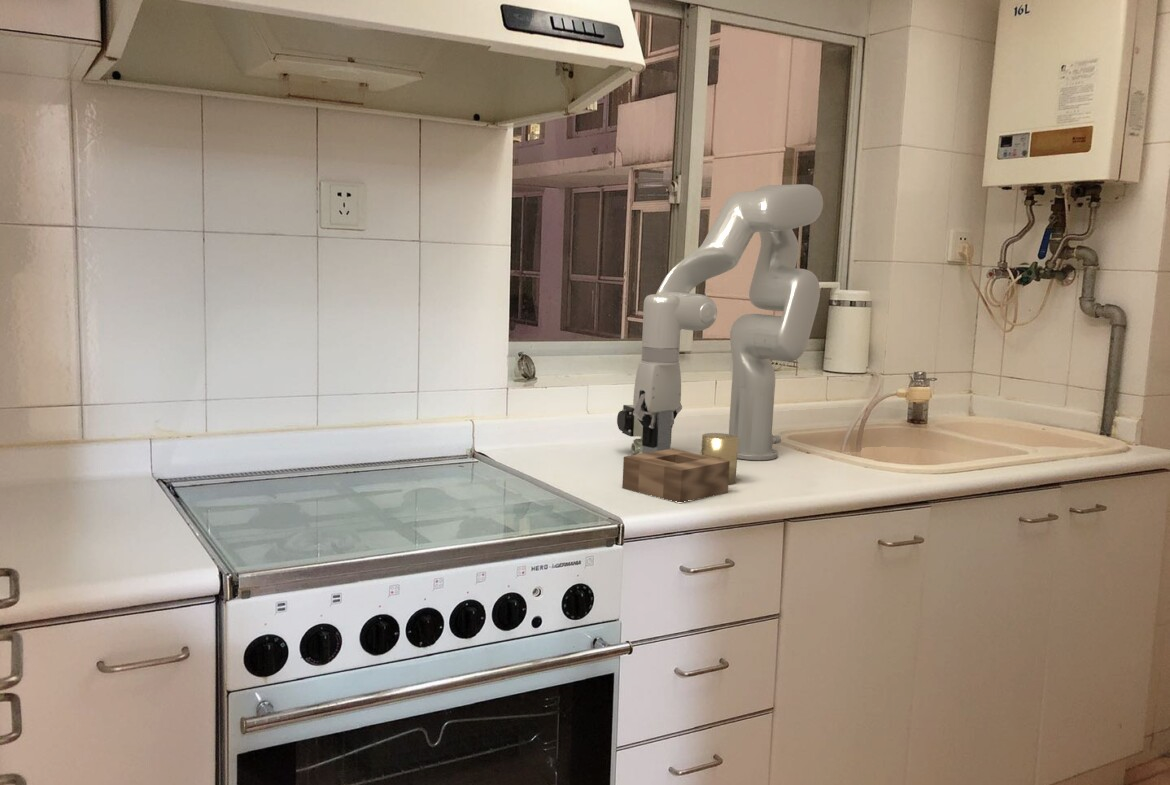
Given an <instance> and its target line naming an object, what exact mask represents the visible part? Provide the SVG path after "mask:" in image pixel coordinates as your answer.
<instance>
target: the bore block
mask: <svg viewBox="0 0 1170 785" xmlns="http://www.w3.org/2000/svg"><path fill="white" fill-rule="evenodd" d="M622 463H623V464H622V465H623V466H622V487H621V488H622V489H624V490H627V489H628V490H627V491H631V490H632V491H631V492H635V491H636V492H635V493H639V492H640V493H639V494H642V493H644V494H643V495H646V494H648V495H647V496H650V495H652V496H651V497H654V496H656V497H655V498H657V497H660V498H659V499H661V498H664V499H663V500H665V499H668V500H667V501H669V500H672V501H671V502H673V501H677V502H684V501H688V500H693V499H697V500H699V499H698V498H701V499H705V498H704V497H706V498H710V497H713V495H714V496H718V494H719V495H722V494H726V493H727V494H728V493H729V485H728V481H729V465H730V461H727V460H723V459H718V458H713V457H709V456H704V455H701V454H699V453H694V452H690V451H685V450H680V449H676V448H670V449H667V450H661V451H655V452H649V453H643V454H632V455H626V456H623V462H622ZM709 496H710V497H709ZM693 501H694V500H693ZM688 502H689V501H688ZM684 503H685V502H684Z"/></svg>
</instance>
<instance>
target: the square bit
mask: <svg viewBox="0 0 1170 785" xmlns="http://www.w3.org/2000/svg"><path fill="white" fill-rule="evenodd" d="M648 418H649V419H650V415H648ZM671 420H672V410H668V411H662V412H658V413H657V414H656V420H655V426H654V428H656V447H655V448H651V447H646V446H643V450H642V454H643V453H649V452H655V451H661V450H667V449H671V444H672V433H671Z"/></svg>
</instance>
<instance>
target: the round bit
mask: <svg viewBox="0 0 1170 785" xmlns="http://www.w3.org/2000/svg"><path fill="white" fill-rule="evenodd" d="M701 439H702V440H701V454H700V455H704V456H709V457H713V458H718V459H723V460H727V461H730V465H729V481H728V486H734V485H736V484H737V483H736V481H737V468H738V467H737V466H738V458H737V453H738V437H737V436H735V435H731V434H729V433H721V432H719V433H718V432H710V433H709V432H708V433H703V434H702V436H701Z"/></svg>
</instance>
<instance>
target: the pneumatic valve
mask: <svg viewBox="0 0 1170 785" xmlns="http://www.w3.org/2000/svg"><path fill="white" fill-rule="evenodd" d="M633 411H634V407H633V404H623V407H622V410H619V411H618V413H617V417H616V424H617V428H618V430H619V431H620V432H621V433H622V434H624V435H626V436H628V437H634V439H633V440H632V443H631V446H630V450H631V452H632V453H633V455H637V454H642V450H643V445H642V436H643V427H642V426H641V423H640V421H639V420H638V419H637V418H636V417H635V416H634V415H633ZM671 426H672V428H673V427H674V424H673V425H671ZM635 437H637V438H635ZM638 437H640V438H638Z"/></svg>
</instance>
